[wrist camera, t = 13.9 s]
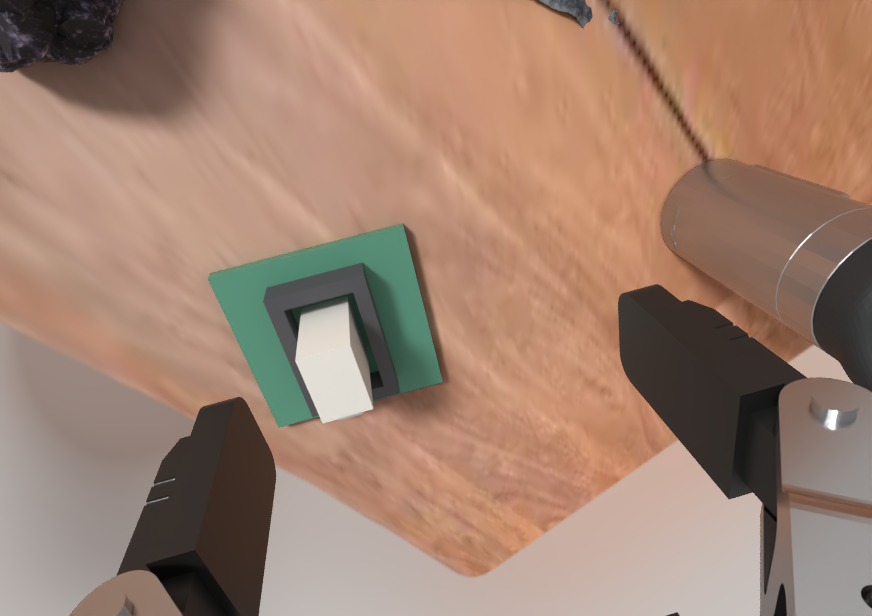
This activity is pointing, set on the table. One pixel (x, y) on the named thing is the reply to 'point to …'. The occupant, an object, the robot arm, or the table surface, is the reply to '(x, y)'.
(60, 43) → the crystal cluster
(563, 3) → the driftwood
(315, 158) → the table surface
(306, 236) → the table surface
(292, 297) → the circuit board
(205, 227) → the table surface
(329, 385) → the plug
